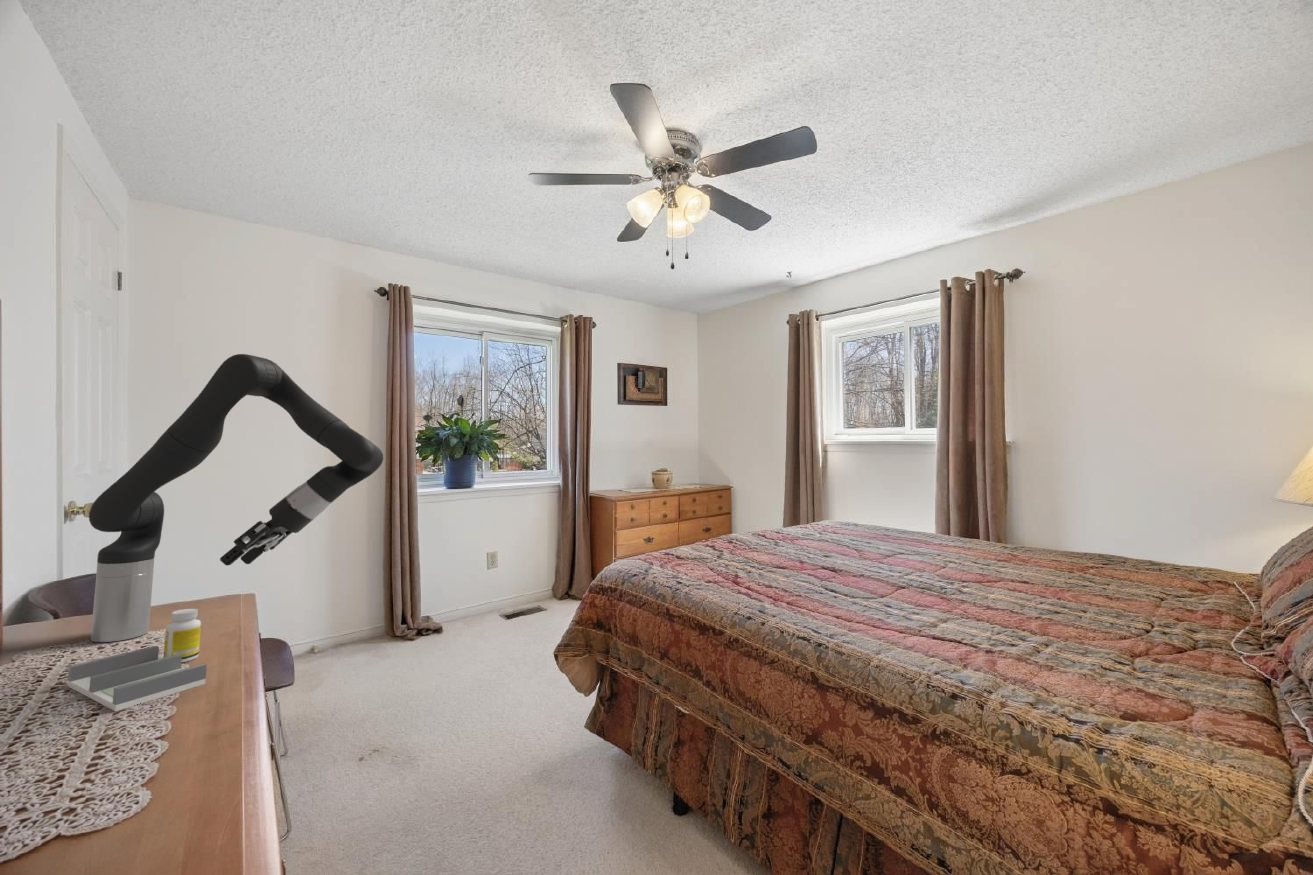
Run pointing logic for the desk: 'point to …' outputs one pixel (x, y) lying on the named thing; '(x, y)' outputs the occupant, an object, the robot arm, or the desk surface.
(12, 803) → the desk surface
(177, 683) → the divided tray
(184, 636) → the supplement bottle
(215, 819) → the desk surface
